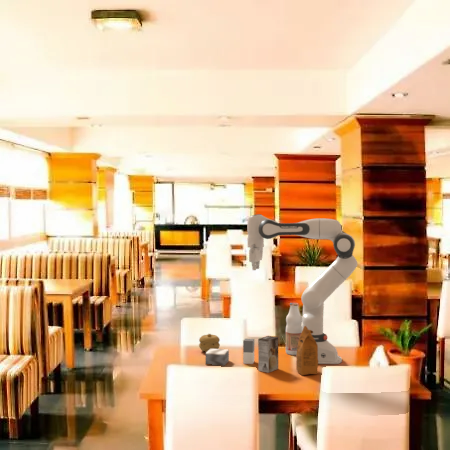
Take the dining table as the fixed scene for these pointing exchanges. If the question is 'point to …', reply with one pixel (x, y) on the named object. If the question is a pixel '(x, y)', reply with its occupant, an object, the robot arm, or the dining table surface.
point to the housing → (248, 351)
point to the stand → (217, 356)
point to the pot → (209, 342)
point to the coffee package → (307, 353)
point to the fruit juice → (293, 329)
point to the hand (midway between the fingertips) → (255, 269)
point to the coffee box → (268, 354)
